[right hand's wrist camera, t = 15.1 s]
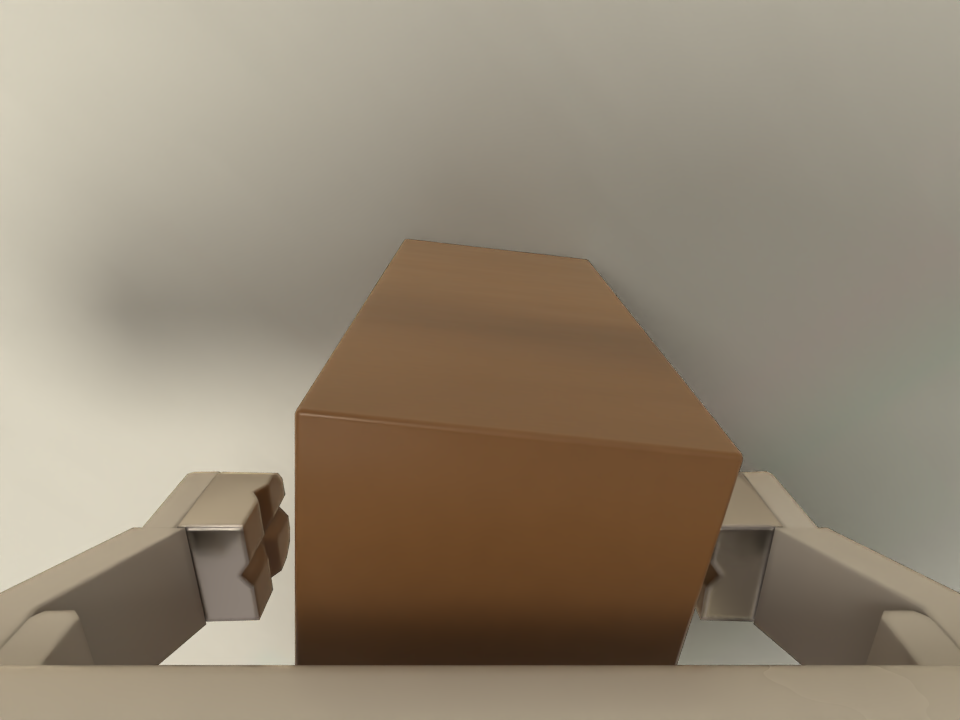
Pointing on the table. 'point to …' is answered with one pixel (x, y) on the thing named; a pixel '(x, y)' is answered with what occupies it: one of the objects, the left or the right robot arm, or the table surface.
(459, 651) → the bar
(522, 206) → the table surface
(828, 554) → the right robot arm
